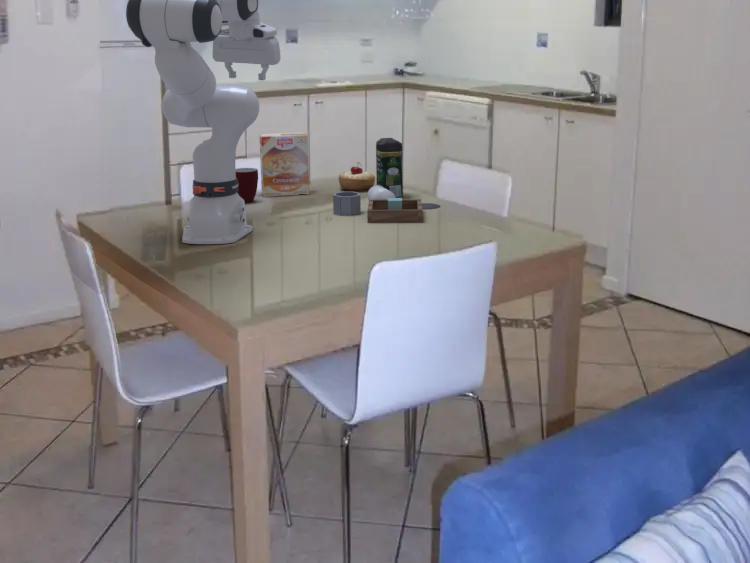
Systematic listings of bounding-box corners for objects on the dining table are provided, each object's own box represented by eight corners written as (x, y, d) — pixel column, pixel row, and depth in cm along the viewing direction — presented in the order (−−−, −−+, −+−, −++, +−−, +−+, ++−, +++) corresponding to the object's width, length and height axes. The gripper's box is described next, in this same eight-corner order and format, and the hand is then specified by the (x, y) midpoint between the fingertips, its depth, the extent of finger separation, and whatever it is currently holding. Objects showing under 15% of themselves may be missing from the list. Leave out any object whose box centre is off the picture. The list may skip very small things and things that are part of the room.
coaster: (441, 211, 270) (441, 209, 270) (410, 211, 271) (410, 209, 271) (439, 205, 279) (439, 203, 279) (410, 205, 279) (410, 203, 279)
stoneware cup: (360, 217, 264) (359, 196, 262) (333, 217, 264) (332, 196, 263) (361, 211, 272) (360, 191, 270) (334, 211, 272) (334, 191, 270)
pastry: (334, 192, 301) (333, 165, 299) (345, 185, 312) (344, 159, 310) (369, 193, 298) (368, 166, 296) (379, 187, 309) (378, 160, 307)
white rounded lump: (396, 208, 274) (395, 189, 272) (377, 211, 272) (375, 192, 270) (386, 203, 282) (385, 184, 280) (368, 206, 280) (366, 186, 279)
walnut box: (422, 224, 254) (422, 210, 253) (367, 224, 255) (367, 210, 254) (421, 212, 269) (421, 199, 268) (369, 213, 269) (369, 199, 268)
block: (402, 218, 260) (402, 200, 258) (387, 218, 260) (387, 200, 258) (402, 215, 263) (402, 197, 262) (388, 215, 264) (388, 197, 262)
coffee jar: (374, 194, 296) (373, 136, 291) (397, 193, 298) (397, 135, 293) (380, 200, 287) (380, 140, 282) (405, 199, 289) (405, 139, 283)
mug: (221, 203, 286) (219, 171, 283) (233, 198, 293) (231, 167, 290) (252, 204, 283) (251, 172, 280) (263, 199, 290) (262, 168, 287)
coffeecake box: (263, 197, 294) (260, 136, 289) (261, 193, 301) (258, 133, 295) (309, 194, 297) (307, 134, 292) (306, 190, 304) (304, 131, 299)
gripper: (206, 29, 259) (210, 78, 264) (271, 32, 252) (274, 83, 258) (217, 26, 264) (220, 74, 270) (281, 29, 258) (283, 79, 263)
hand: (247, 78), depth 264 cm, fingers open, 8 cm apart
